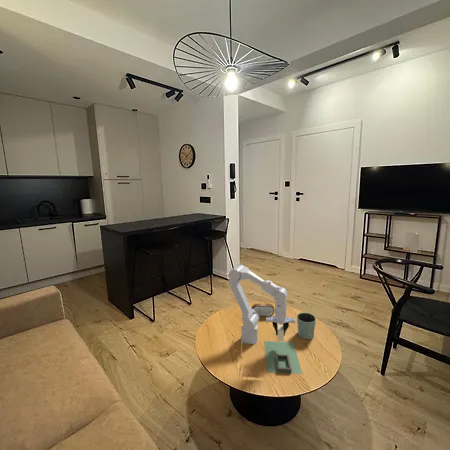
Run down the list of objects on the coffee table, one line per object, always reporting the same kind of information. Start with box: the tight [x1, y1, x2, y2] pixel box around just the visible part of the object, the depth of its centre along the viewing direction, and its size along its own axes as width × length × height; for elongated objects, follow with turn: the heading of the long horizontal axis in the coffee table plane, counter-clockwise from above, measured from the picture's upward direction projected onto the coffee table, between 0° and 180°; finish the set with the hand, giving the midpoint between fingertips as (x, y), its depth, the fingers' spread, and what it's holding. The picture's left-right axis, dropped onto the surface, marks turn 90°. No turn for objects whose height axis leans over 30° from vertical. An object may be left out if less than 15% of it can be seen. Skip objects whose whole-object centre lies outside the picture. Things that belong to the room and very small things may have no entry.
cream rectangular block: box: [276, 324, 285, 342], centre depth 129 cm, size 3×5×6 cm, turn 175°
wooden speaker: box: [251, 303, 275, 317], centre depth 162 cm, size 15×3×8 cm, turn 87°
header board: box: [263, 340, 303, 375], centre depth 124 cm, size 16×22×3 cm
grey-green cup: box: [296, 312, 317, 340], centre depth 140 cm, size 10×10×12 cm
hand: (280, 334), depth 129 cm, fingers closed on cream rectangular block, 3 cm apart
